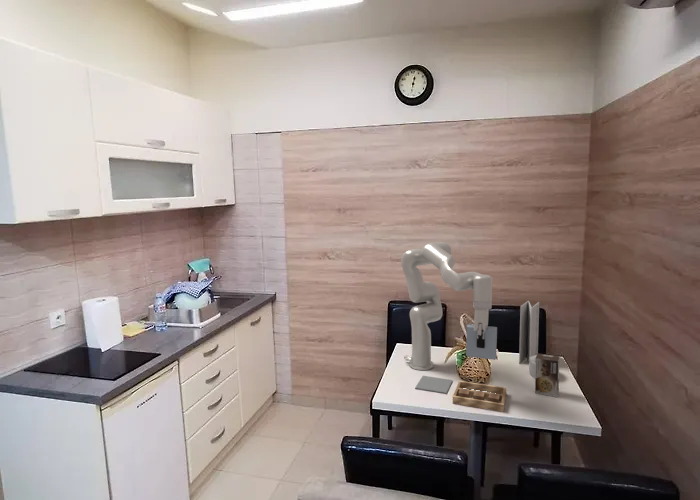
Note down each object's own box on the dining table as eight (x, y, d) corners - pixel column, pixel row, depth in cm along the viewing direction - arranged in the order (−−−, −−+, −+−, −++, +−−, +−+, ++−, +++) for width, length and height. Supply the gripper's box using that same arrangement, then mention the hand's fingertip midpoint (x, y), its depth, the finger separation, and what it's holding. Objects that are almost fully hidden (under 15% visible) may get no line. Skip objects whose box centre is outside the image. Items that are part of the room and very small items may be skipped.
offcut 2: (473, 404, 175) (473, 395, 174) (474, 399, 178) (474, 390, 178) (483, 405, 173) (483, 396, 173) (484, 401, 177) (484, 392, 176)
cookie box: (559, 391, 184) (560, 356, 182) (557, 397, 178) (559, 361, 176) (536, 387, 189) (537, 352, 187) (534, 393, 183) (535, 357, 181)
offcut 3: (488, 406, 172) (488, 397, 172) (489, 402, 176) (489, 393, 176) (498, 408, 171) (498, 399, 170) (499, 404, 174) (499, 394, 174)
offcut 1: (458, 401, 177) (458, 392, 177) (460, 397, 181) (460, 388, 180) (468, 403, 176) (468, 394, 175) (469, 399, 179) (469, 390, 179)
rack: (452, 403, 176) (452, 396, 175) (459, 386, 191) (459, 380, 190) (503, 412, 168) (503, 404, 167) (506, 394, 183) (506, 387, 182)
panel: (465, 356, 182) (466, 326, 180) (467, 352, 185) (467, 324, 184) (495, 360, 177) (496, 330, 175) (496, 356, 180) (497, 327, 179)
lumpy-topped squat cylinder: (549, 370, 206) (550, 353, 205) (557, 382, 193) (558, 364, 192) (527, 369, 208) (527, 352, 207) (533, 380, 195) (534, 362, 194)
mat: (415, 388, 190) (415, 387, 190) (422, 376, 203) (422, 375, 203) (446, 394, 184) (446, 392, 184) (452, 381, 197) (452, 379, 197)
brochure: (530, 366, 212) (532, 307, 208) (519, 363, 215) (520, 306, 212) (537, 357, 223) (539, 301, 220) (526, 355, 227) (528, 300, 223)
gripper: (475, 298, 187) (474, 338, 190) (470, 308, 172) (469, 351, 174) (493, 300, 184) (492, 340, 187) (489, 310, 169) (488, 353, 171)
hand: (481, 345), depth 180 cm, fingers closed on panel, 4 cm apart
